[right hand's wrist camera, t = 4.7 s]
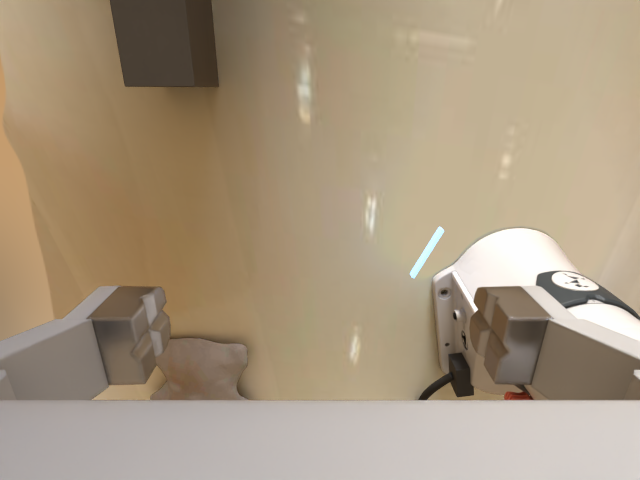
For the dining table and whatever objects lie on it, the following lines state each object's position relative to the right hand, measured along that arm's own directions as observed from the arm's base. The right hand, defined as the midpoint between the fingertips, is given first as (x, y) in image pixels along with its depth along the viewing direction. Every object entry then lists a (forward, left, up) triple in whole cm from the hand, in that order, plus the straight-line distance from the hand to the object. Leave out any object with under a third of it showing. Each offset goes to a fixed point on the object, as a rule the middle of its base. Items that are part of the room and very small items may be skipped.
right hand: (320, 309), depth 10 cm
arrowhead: (-40, +17, -34) cm, 55 cm away
